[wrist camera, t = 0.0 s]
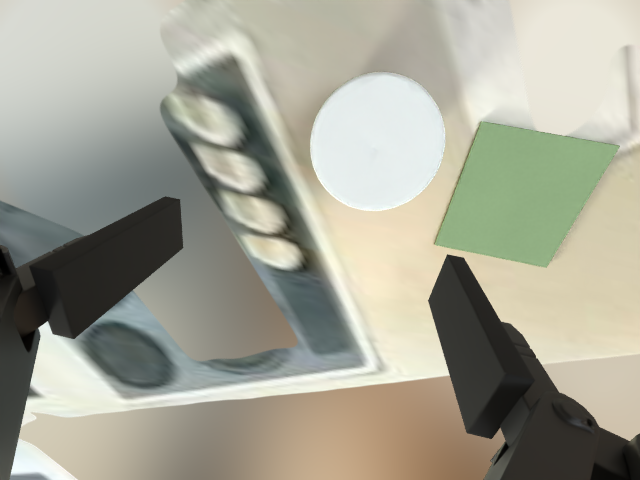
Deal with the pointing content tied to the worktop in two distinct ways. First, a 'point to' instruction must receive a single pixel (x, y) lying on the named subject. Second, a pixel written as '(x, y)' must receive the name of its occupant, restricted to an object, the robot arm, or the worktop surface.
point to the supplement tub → (377, 141)
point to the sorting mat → (521, 192)
